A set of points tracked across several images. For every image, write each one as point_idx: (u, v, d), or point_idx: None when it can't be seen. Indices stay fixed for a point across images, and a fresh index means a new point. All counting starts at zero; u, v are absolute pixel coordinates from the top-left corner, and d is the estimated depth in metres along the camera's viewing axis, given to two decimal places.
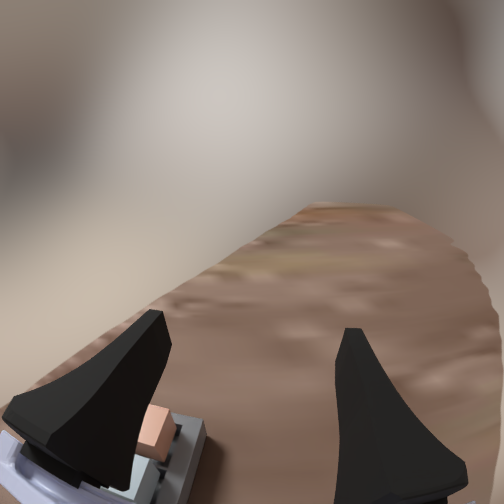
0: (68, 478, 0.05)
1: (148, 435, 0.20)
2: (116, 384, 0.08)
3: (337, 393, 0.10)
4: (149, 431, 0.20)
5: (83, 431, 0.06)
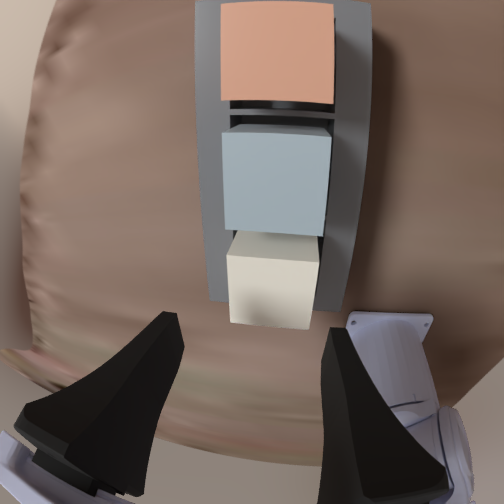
0: (84, 487, 0.05)
1: (310, 79, 0.09)
2: (132, 389, 0.08)
3: (322, 392, 0.10)
4: (309, 68, 0.09)
5: (100, 438, 0.06)
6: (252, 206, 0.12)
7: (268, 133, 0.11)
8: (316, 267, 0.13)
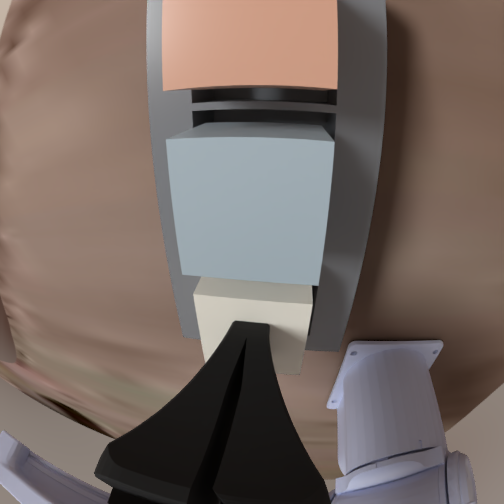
0: None
1: (300, 50, 0.05)
2: (225, 408, 0.07)
3: None
4: (297, 33, 0.05)
5: (206, 470, 0.05)
6: (216, 245, 0.08)
7: (235, 137, 0.07)
8: (309, 310, 0.10)
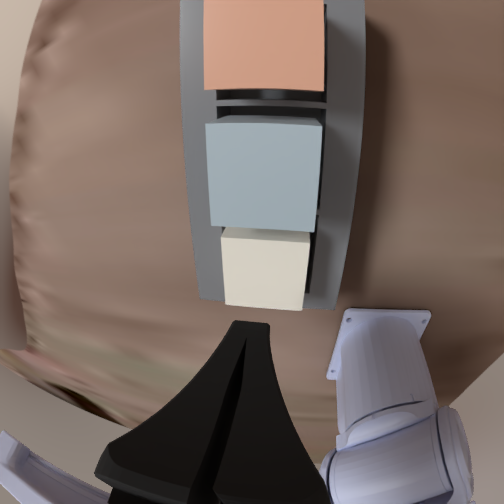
0: None
1: (299, 65, 0.08)
2: (225, 408, 0.07)
3: None
4: (297, 53, 0.08)
5: (206, 470, 0.05)
6: (239, 200, 0.11)
7: (254, 123, 0.10)
8: (307, 248, 0.14)
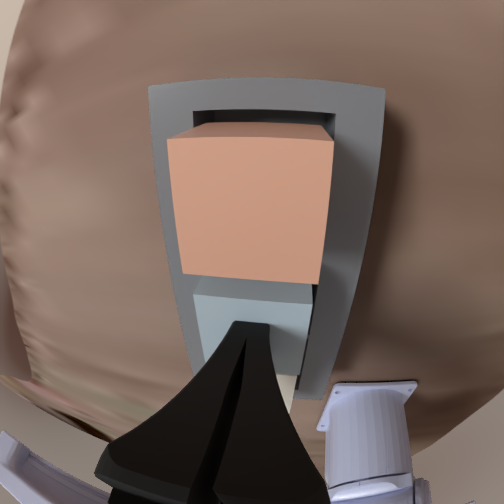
0: None
1: (291, 256, 0.08)
2: (225, 408, 0.07)
3: None
4: (290, 243, 0.08)
5: (206, 470, 0.05)
6: None
7: (243, 298, 0.10)
8: (294, 379, 0.14)
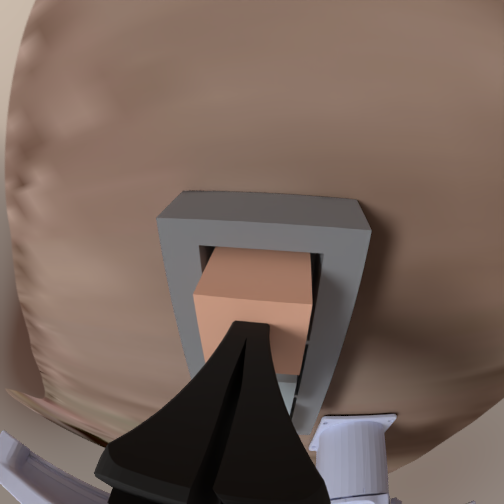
0: None
1: (281, 361, 0.12)
2: (225, 408, 0.07)
3: None
4: (280, 355, 0.11)
5: (206, 470, 0.05)
6: None
7: None
8: None
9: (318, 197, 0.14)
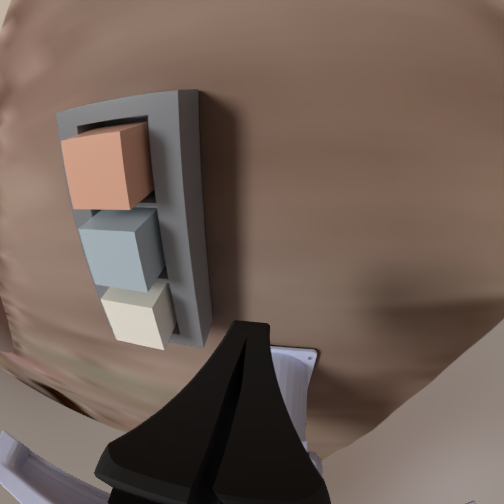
0: None
1: (114, 194, 0.14)
2: (225, 408, 0.07)
3: None
4: (112, 186, 0.14)
5: (206, 470, 0.05)
6: (104, 272, 0.17)
7: (101, 229, 0.15)
8: (151, 311, 0.18)
9: None
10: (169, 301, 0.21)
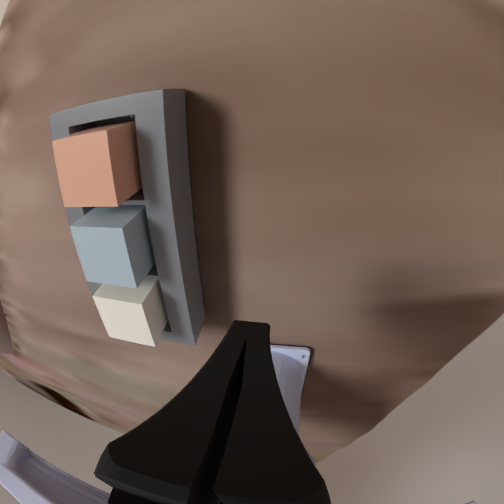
0: None
1: (102, 191, 0.14)
2: (225, 408, 0.07)
3: None
4: (100, 184, 0.14)
5: (206, 470, 0.05)
6: (95, 268, 0.17)
7: (91, 226, 0.16)
8: (141, 307, 0.18)
9: None
10: (160, 298, 0.21)
